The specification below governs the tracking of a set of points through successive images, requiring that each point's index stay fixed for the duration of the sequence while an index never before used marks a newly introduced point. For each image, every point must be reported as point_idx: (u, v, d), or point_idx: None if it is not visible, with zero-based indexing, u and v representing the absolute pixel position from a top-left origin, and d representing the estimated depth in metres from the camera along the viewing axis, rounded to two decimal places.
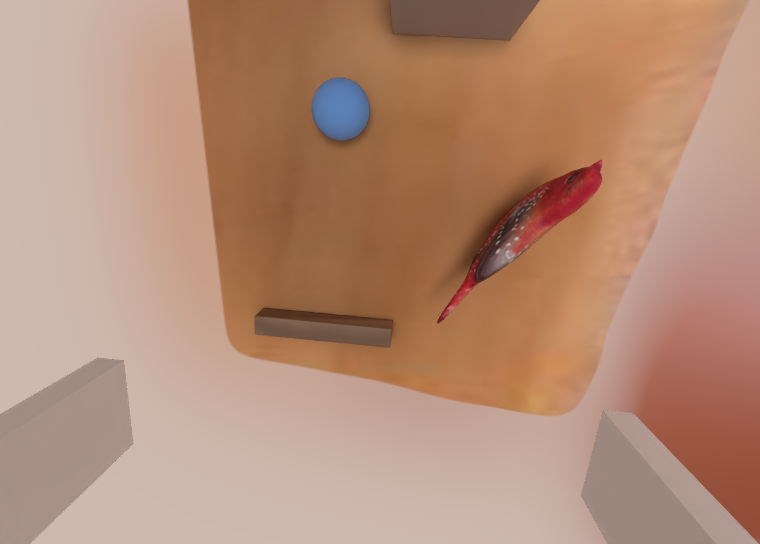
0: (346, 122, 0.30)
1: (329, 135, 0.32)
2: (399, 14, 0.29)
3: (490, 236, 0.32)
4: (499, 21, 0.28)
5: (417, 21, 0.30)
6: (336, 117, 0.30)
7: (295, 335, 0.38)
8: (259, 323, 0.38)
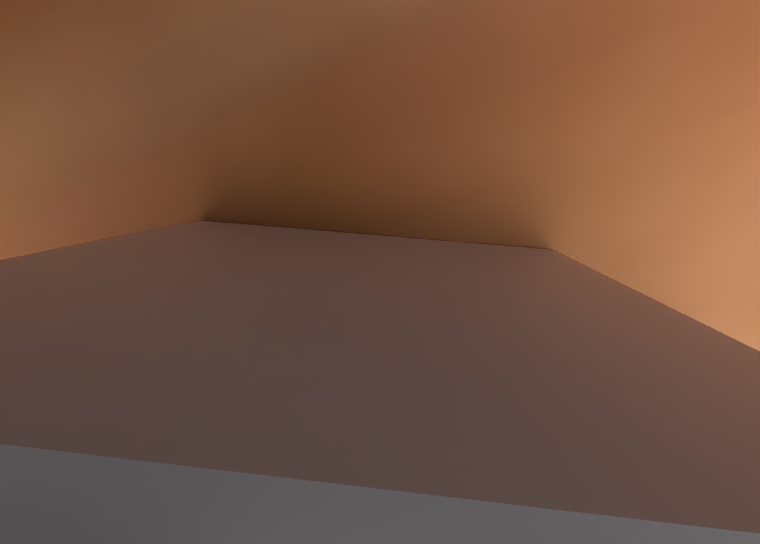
0: None
1: None
2: None
3: None
4: None
5: None
6: None
7: None
8: None
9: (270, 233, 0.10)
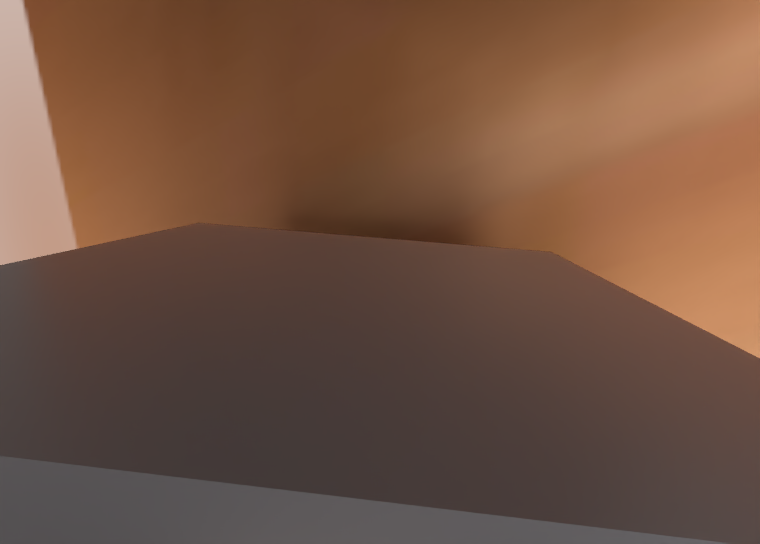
0: None
1: None
2: None
3: None
4: None
5: None
6: None
7: None
8: None
9: (270, 236, 0.10)
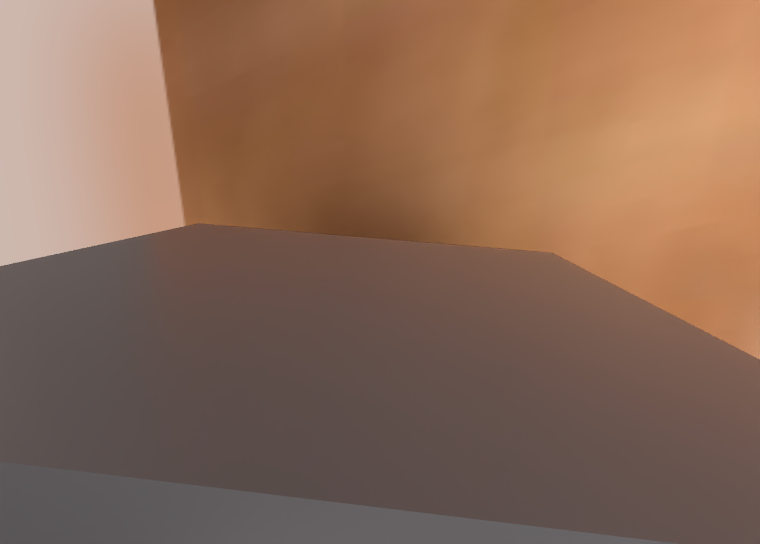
0: None
1: None
2: None
3: None
4: None
5: None
6: None
7: None
8: None
9: (270, 237, 0.09)
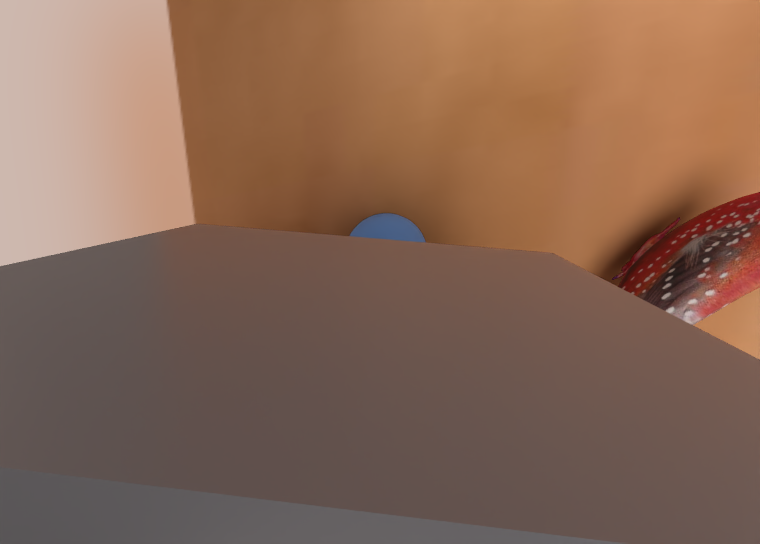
0: None
1: (374, 218, 0.21)
2: None
3: (639, 281, 0.20)
4: None
5: None
6: None
7: None
8: None
9: (269, 237, 0.09)
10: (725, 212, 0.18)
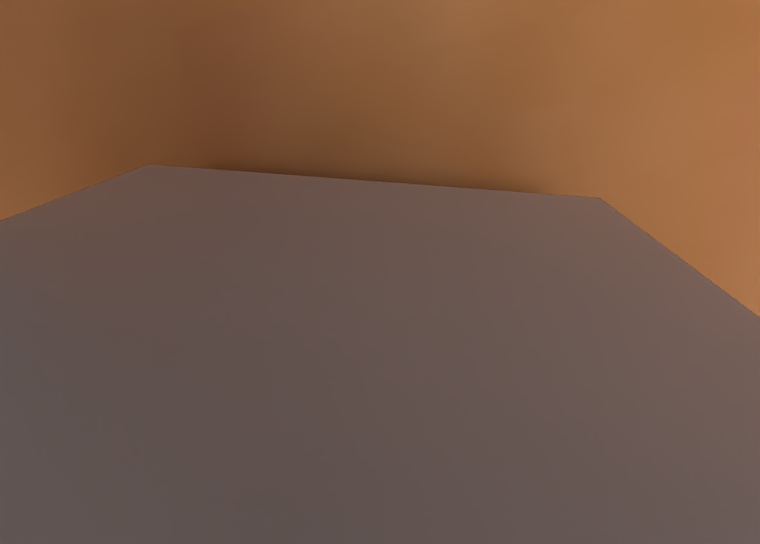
0: None
1: None
2: None
3: None
4: None
5: None
6: None
7: None
8: None
9: (235, 187, 0.07)
10: None
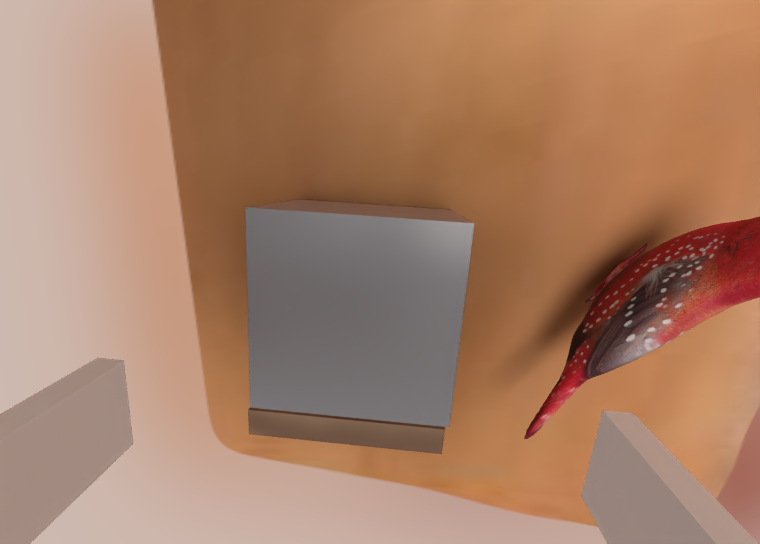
0: None
1: None
2: None
3: (606, 307, 0.21)
4: None
5: None
6: None
7: (306, 436, 0.26)
8: (255, 419, 0.26)
9: (334, 202, 0.24)
10: (682, 244, 0.19)
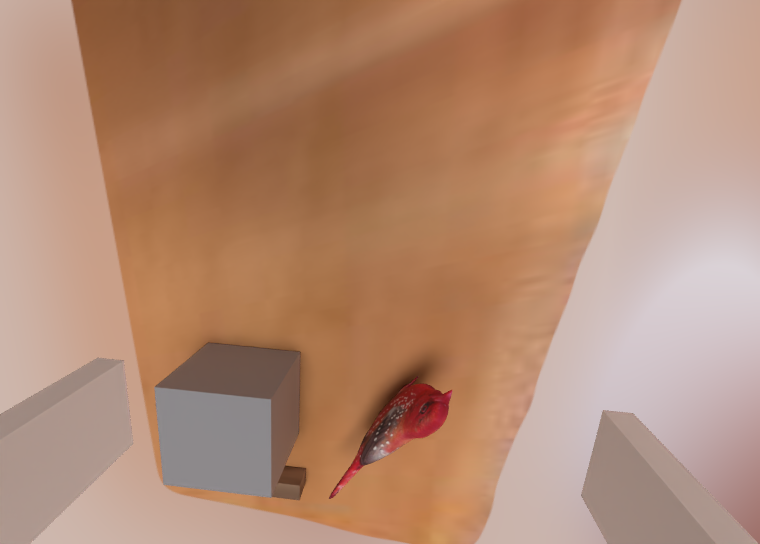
0: None
1: None
2: None
3: (375, 424, 0.36)
4: None
5: None
6: None
7: None
8: None
9: (226, 350, 0.39)
10: (407, 394, 0.34)
